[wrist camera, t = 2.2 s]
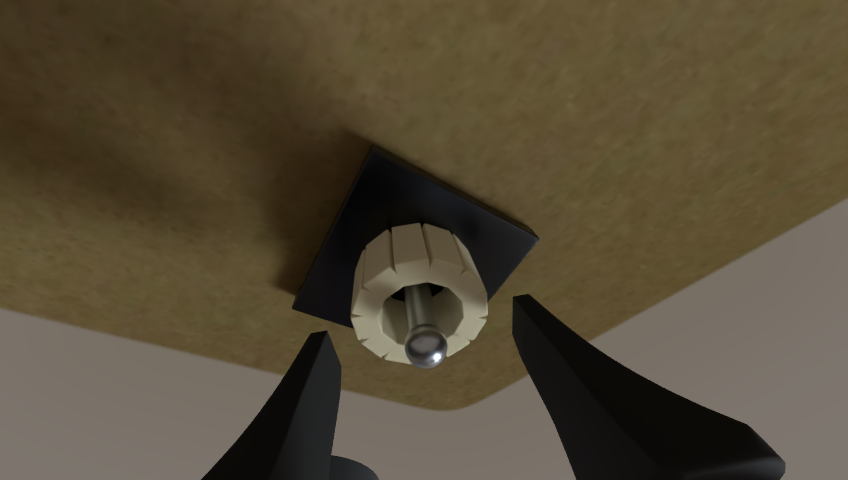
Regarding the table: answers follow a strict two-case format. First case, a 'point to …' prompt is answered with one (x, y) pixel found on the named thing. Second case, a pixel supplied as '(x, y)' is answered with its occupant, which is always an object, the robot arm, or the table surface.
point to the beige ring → (407, 265)
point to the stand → (379, 211)
